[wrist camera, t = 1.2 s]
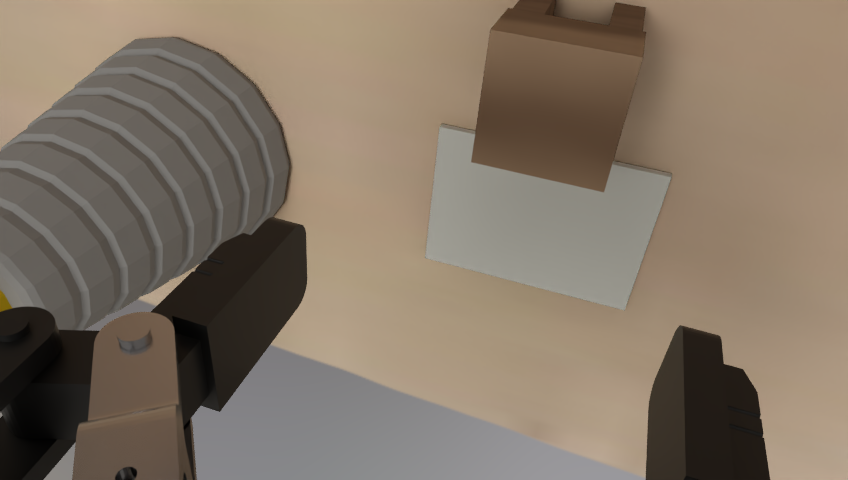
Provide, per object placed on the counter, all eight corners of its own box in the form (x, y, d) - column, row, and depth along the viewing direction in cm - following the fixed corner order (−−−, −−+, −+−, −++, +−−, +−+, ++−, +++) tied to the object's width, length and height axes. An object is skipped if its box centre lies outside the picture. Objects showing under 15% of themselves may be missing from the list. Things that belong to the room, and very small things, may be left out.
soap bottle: (322, 114, 33) (-4, 394, 17) (258, 268, 41) (-11, 564, 25) (116, -13, 33) (-410, 152, 17) (90, 166, 41) (-292, 397, 25)
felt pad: (441, 123, 32) (439, 126, 31) (671, 173, 29) (671, 177, 29) (427, 254, 36) (425, 258, 36) (624, 305, 34) (624, 310, 34)
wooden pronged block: (527, -15, 27) (490, 29, 21) (648, 5, 26) (643, 57, 20) (507, 97, 30) (471, 161, 24) (616, 119, 29) (604, 192, 23)
